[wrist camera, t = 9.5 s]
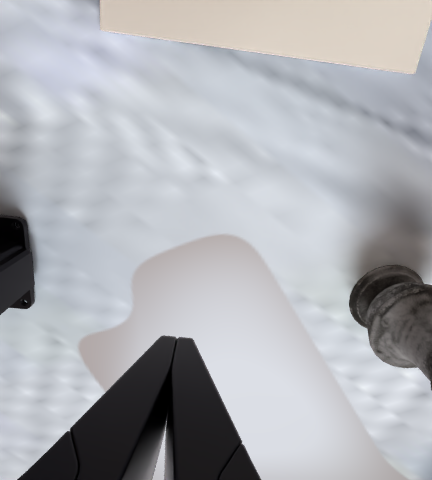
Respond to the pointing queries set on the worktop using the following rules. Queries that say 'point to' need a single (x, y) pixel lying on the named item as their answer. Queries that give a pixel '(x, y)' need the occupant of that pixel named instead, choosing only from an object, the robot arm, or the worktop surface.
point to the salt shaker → (396, 316)
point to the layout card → (285, 27)
